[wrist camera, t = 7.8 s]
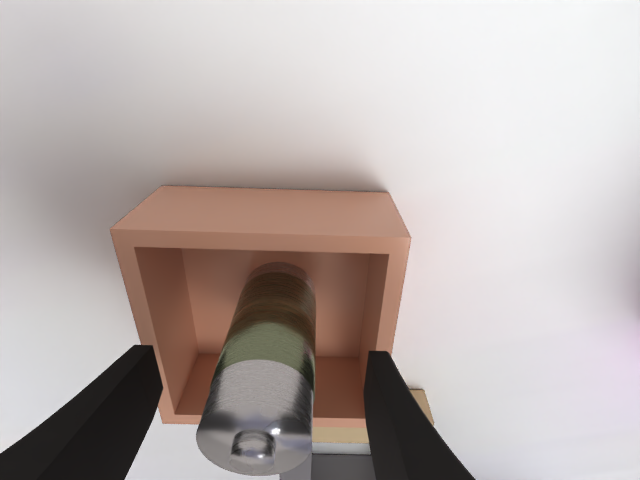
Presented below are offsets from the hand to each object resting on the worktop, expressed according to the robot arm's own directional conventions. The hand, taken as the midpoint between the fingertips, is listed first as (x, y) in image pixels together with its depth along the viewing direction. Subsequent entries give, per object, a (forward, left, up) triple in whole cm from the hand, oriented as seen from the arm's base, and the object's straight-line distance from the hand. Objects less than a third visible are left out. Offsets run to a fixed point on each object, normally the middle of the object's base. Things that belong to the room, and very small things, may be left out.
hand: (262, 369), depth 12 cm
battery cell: (0, 0, -4) cm, 5 cm away
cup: (0, 0, -5) cm, 5 cm away
